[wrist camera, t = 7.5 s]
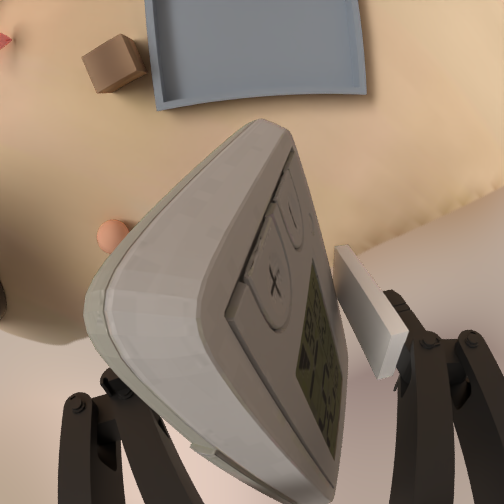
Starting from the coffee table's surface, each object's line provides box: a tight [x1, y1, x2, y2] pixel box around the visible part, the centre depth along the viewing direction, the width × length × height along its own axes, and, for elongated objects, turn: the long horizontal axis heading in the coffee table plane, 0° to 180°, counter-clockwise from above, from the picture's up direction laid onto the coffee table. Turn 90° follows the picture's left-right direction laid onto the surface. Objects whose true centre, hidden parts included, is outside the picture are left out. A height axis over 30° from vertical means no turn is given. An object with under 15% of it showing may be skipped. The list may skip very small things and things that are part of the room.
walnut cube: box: [82, 34, 147, 93], centre depth 21 cm, size 4×4×4 cm
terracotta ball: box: [97, 220, 129, 254], centre depth 30 cm, size 4×4×4 cm
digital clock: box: [83, 119, 348, 504], centre depth 11 cm, size 16×9×11 cm, turn 8°
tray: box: [145, 0, 367, 111], centre depth 22 cm, size 13×19×2 cm
